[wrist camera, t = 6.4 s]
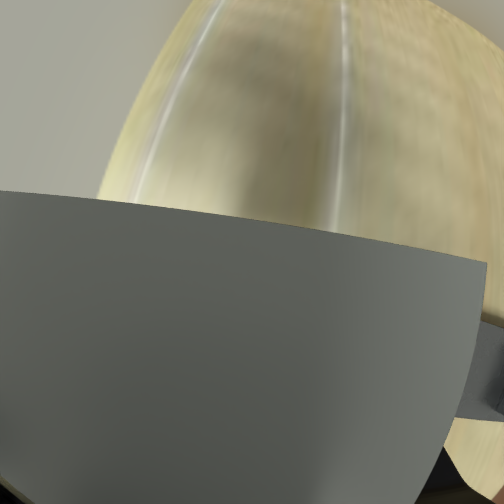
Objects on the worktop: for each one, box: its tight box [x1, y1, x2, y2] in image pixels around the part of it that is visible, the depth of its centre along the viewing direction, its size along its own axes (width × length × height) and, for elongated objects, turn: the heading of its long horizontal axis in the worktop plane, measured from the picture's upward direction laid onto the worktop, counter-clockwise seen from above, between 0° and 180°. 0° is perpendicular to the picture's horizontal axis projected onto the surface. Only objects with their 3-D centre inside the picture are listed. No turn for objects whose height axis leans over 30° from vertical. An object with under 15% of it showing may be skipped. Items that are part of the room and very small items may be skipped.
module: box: [0, 191, 487, 504], centre depth 9 cm, size 5×6×13 cm
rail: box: [455, 320, 504, 422], centre depth 16 cm, size 8×22×4 cm, turn 71°
